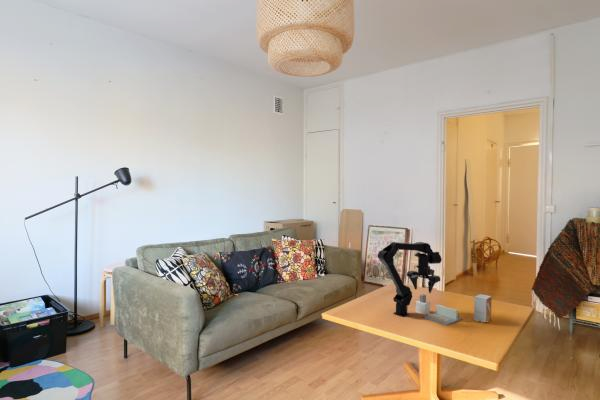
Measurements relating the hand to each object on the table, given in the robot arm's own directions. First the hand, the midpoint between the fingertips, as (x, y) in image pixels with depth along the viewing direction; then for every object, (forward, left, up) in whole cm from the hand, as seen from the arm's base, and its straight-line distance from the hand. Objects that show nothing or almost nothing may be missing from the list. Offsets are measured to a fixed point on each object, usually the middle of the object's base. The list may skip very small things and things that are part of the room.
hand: (422, 291), depth 205 cm
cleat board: (-1, -13, -12) cm, 18 cm away
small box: (+15, -27, -13) cm, 33 cm away
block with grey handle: (0, 0, -12) cm, 12 cm away
